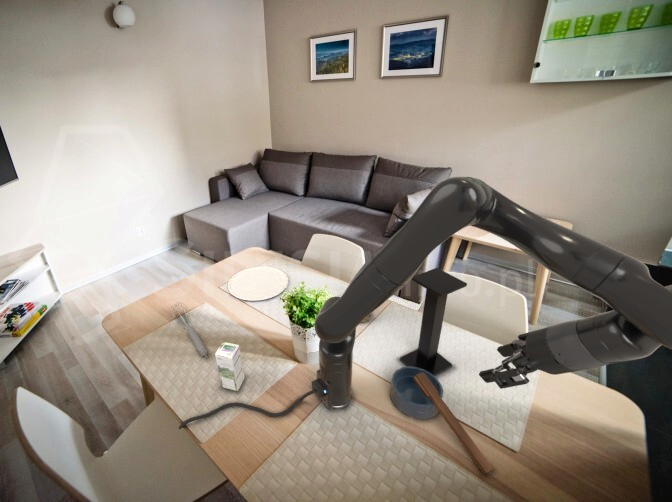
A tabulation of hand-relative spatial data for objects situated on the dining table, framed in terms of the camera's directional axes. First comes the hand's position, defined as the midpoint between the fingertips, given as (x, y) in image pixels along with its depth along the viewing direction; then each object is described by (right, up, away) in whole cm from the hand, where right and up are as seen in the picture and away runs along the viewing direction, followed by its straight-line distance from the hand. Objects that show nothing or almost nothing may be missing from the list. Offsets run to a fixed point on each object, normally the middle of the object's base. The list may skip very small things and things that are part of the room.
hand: (491, 364), depth 69 cm
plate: (-53, +4, +87) cm, 102 cm away
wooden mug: (-10, -5, +60) cm, 61 cm away
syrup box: (-59, -20, +36) cm, 72 cm away
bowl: (-5, -20, +26) cm, 33 cm away
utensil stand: (+3, -14, +37) cm, 40 cm away
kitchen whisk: (-78, -11, +60) cm, 99 cm away
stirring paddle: (-1, -20, +15) cm, 25 cm away
